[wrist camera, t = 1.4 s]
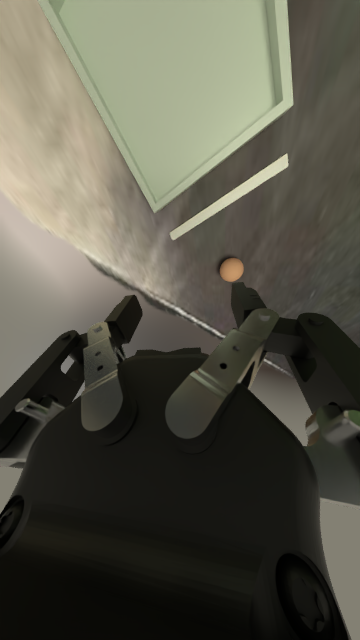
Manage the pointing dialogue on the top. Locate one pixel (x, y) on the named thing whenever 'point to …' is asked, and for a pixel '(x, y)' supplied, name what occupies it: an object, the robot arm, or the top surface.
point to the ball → (231, 269)
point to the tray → (178, 79)
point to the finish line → (232, 196)
